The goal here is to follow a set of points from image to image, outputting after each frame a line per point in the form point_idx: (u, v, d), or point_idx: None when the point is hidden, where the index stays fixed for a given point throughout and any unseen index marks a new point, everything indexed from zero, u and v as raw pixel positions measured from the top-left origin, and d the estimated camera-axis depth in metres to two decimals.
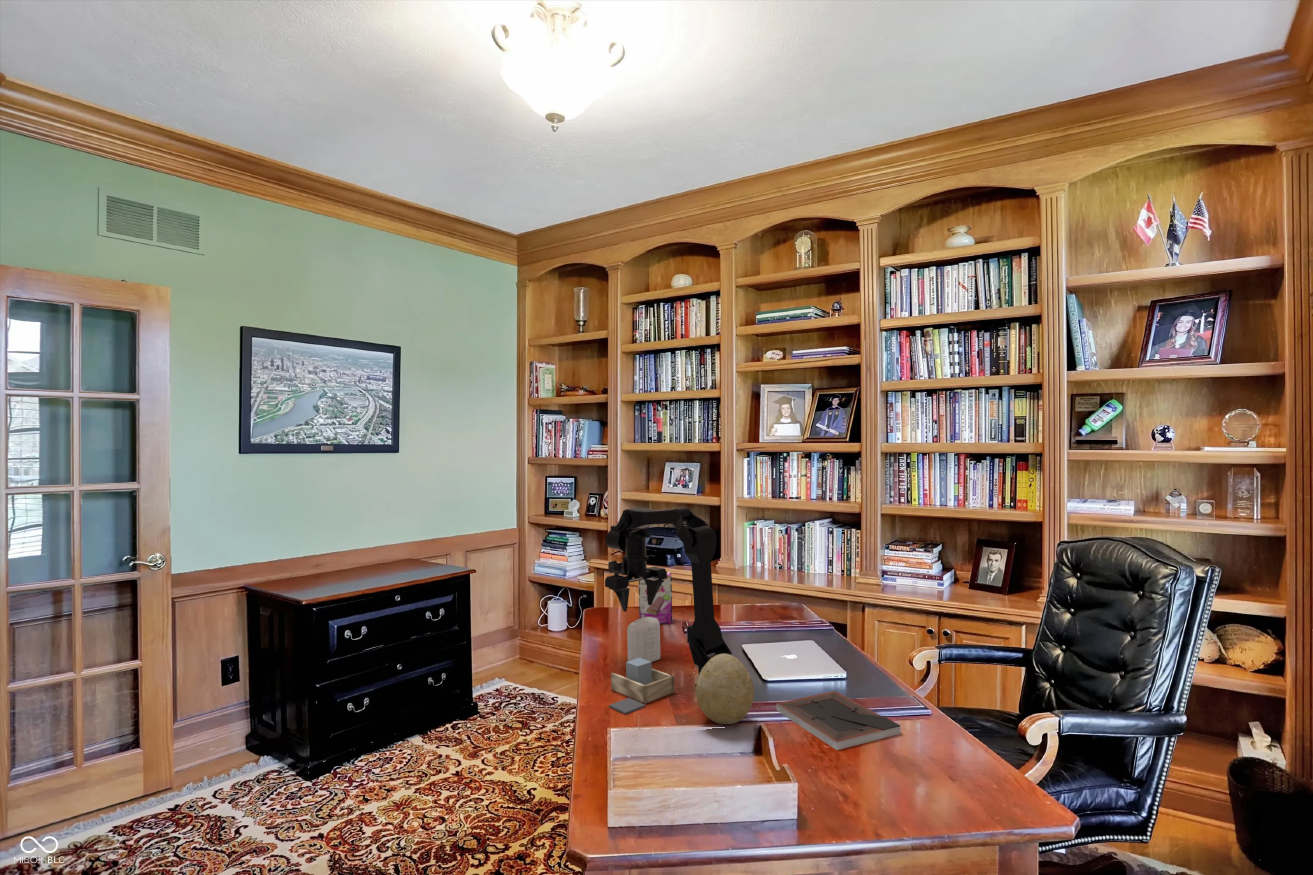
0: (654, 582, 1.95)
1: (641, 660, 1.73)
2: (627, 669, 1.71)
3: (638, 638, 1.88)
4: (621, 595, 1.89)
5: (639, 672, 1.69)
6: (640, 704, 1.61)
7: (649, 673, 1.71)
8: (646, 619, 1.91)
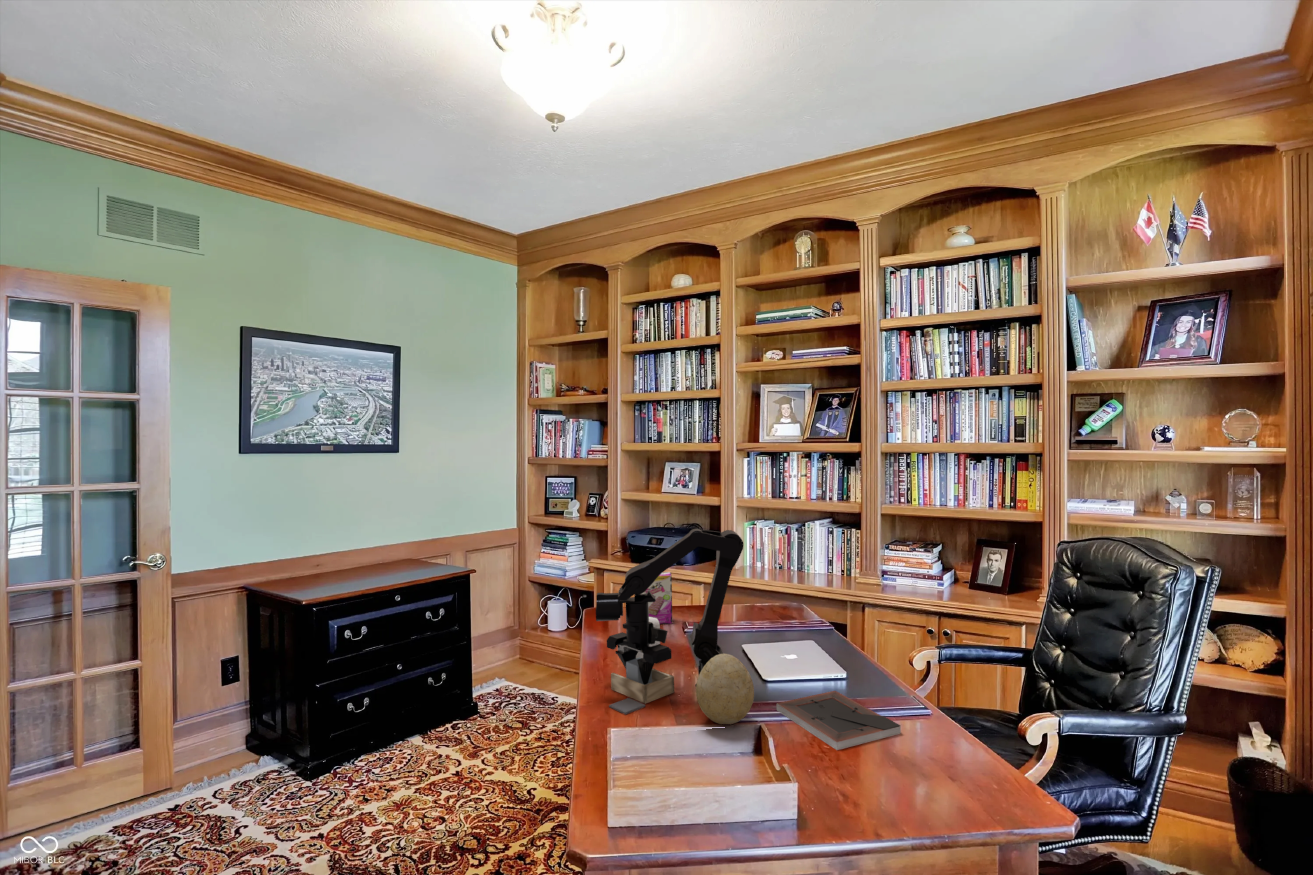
0: None
1: None
2: (627, 668, 1.71)
3: None
4: None
5: (639, 672, 1.69)
6: (640, 704, 1.61)
7: None
8: None
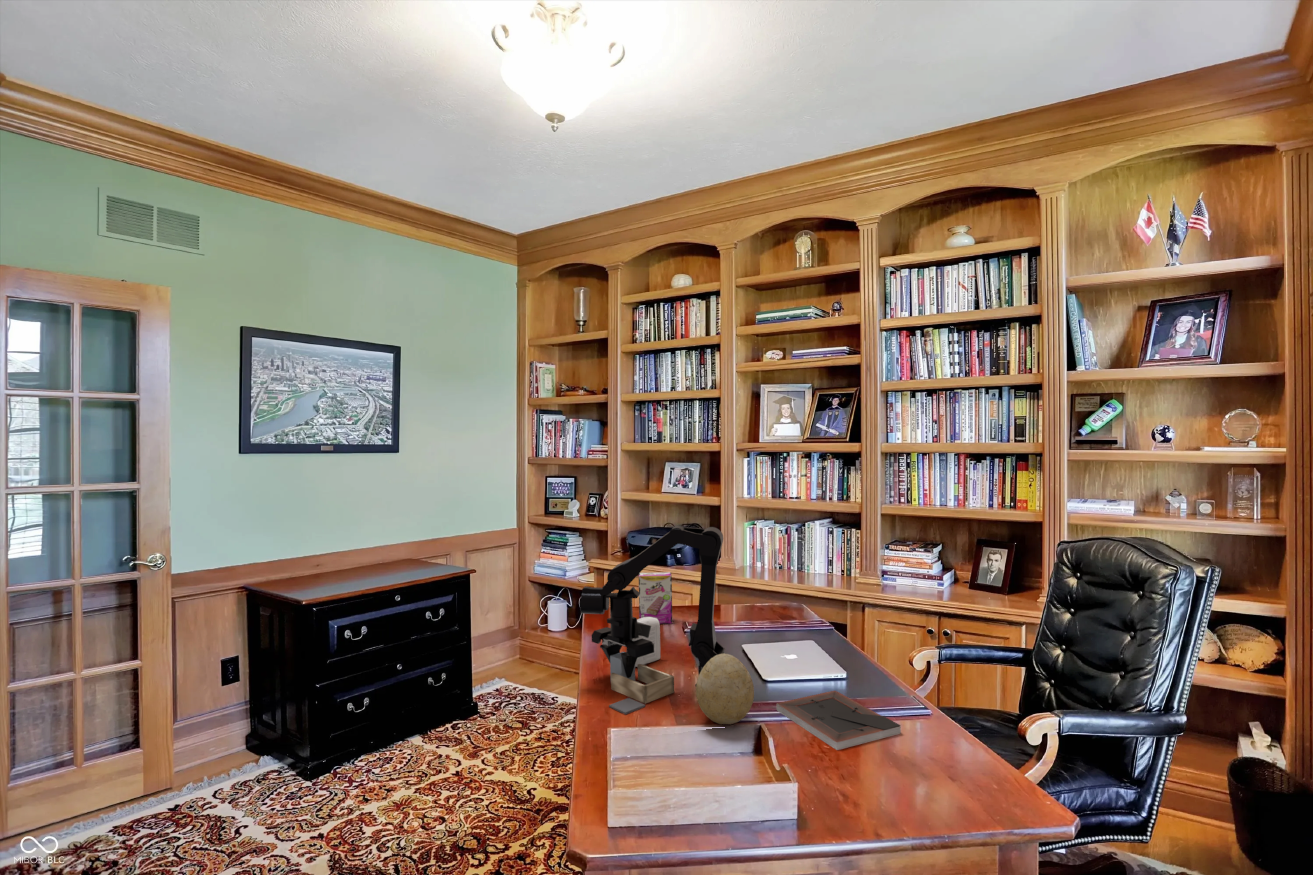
0: None
1: None
2: (611, 662, 1.76)
3: (638, 638, 1.88)
4: None
5: (623, 665, 1.74)
6: (640, 704, 1.61)
7: None
8: (646, 619, 1.91)
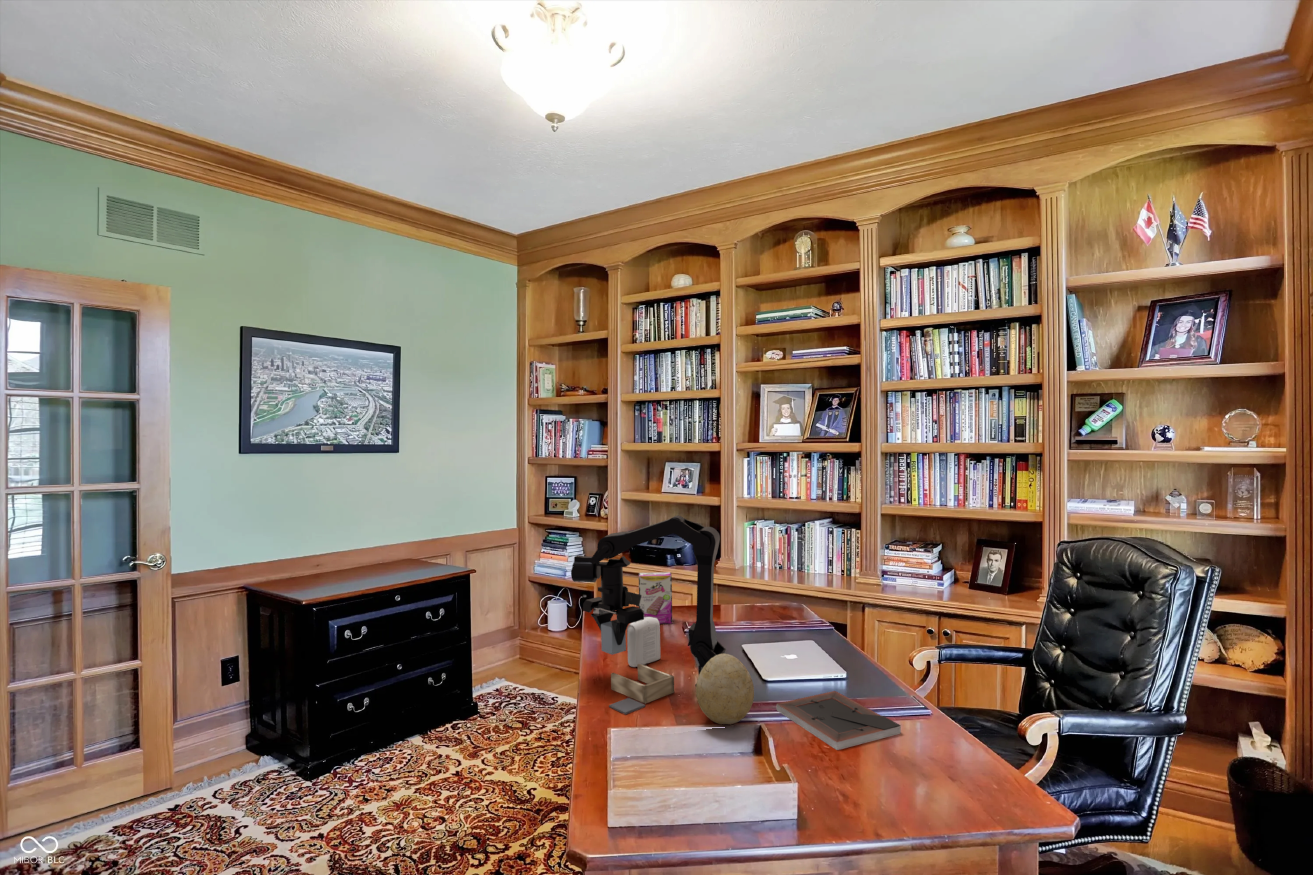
0: None
1: None
2: (602, 630, 1.78)
3: (638, 638, 1.88)
4: None
5: (613, 633, 1.76)
6: (640, 704, 1.61)
7: None
8: (646, 619, 1.91)
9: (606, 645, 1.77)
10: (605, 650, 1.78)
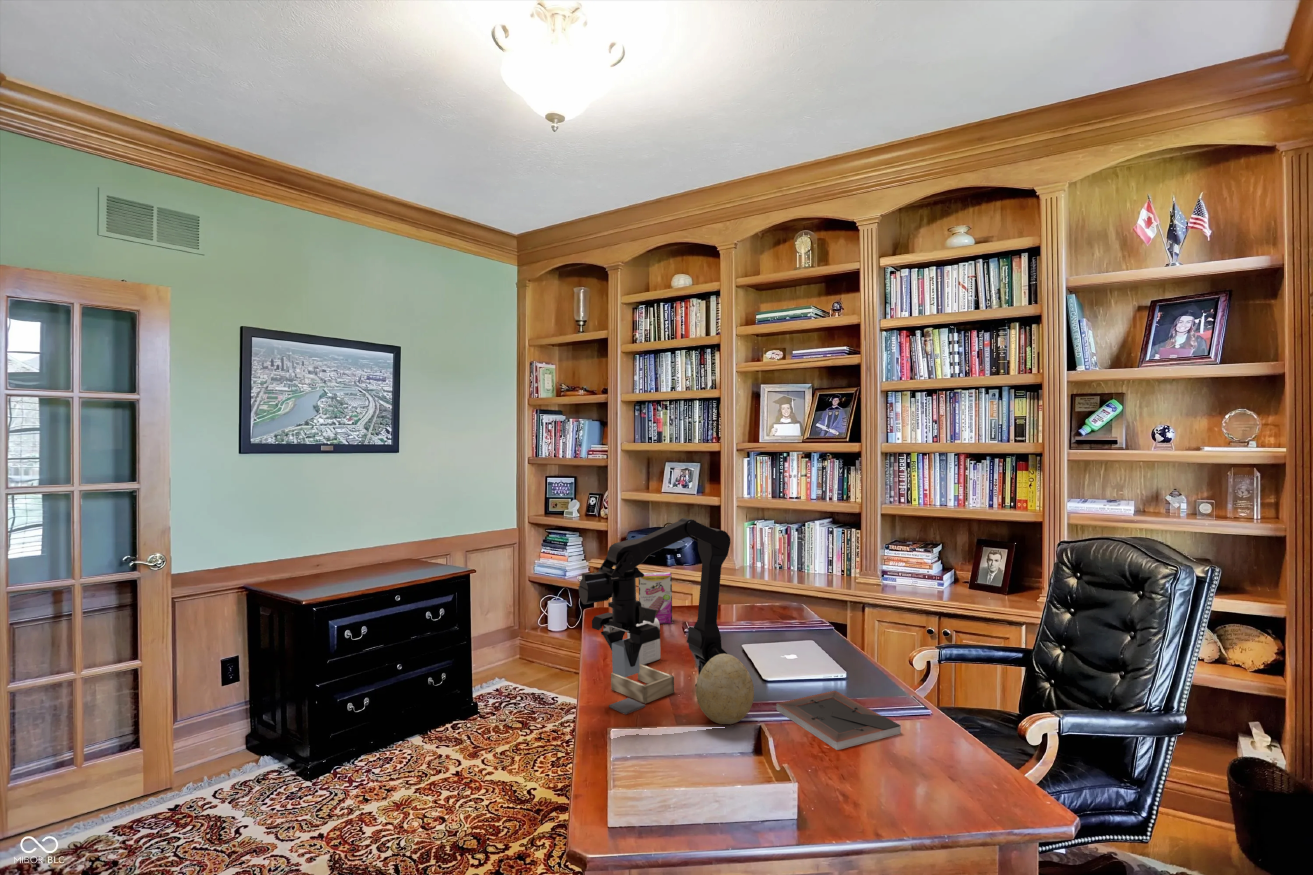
0: None
1: None
2: (613, 650, 1.61)
3: None
4: None
5: (626, 653, 1.58)
6: (640, 704, 1.61)
7: None
8: None
9: (618, 667, 1.60)
10: (617, 672, 1.60)
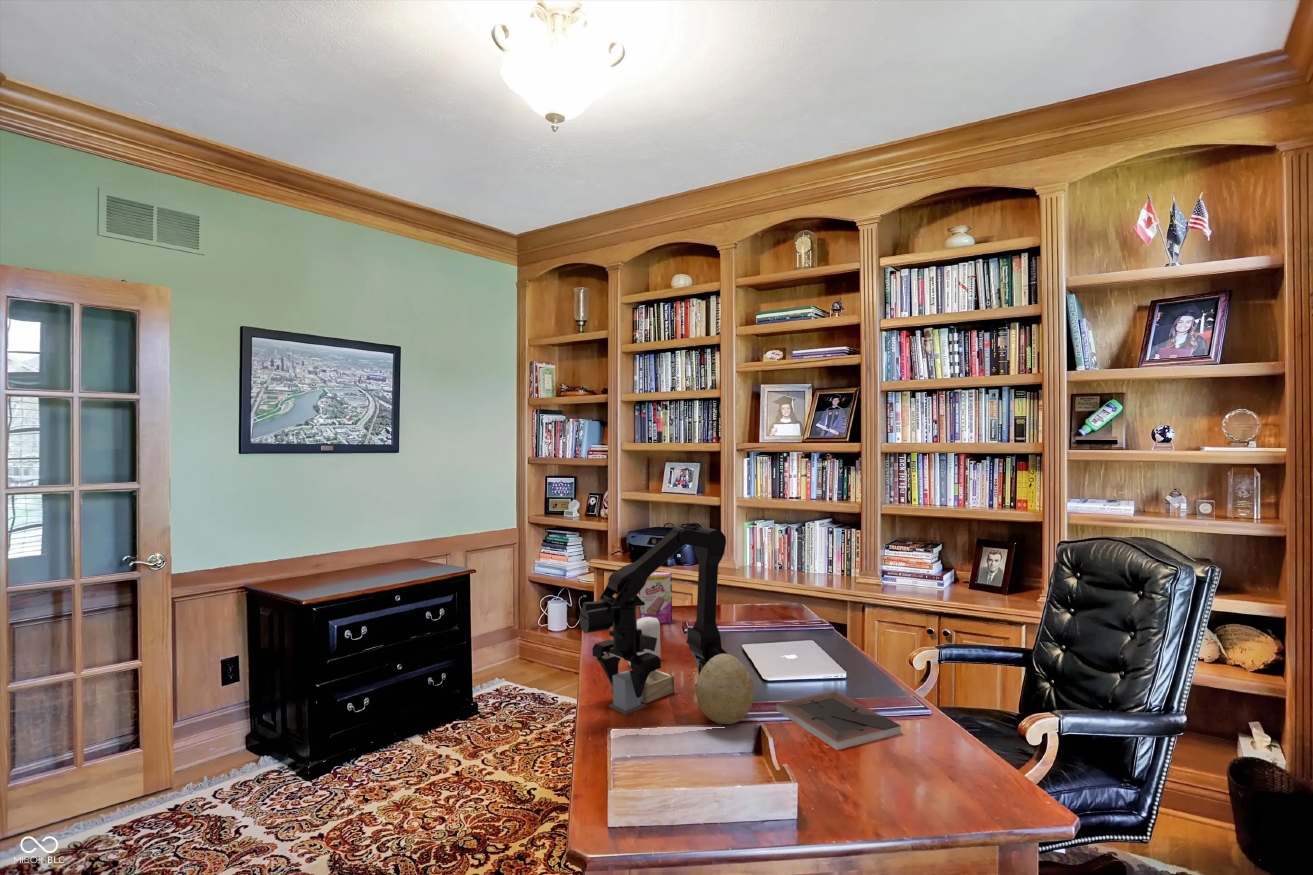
0: None
1: (629, 673, 1.62)
2: (614, 682, 1.61)
3: None
4: None
5: (627, 686, 1.59)
6: (640, 704, 1.61)
7: None
8: (646, 619, 1.91)
9: (619, 700, 1.60)
10: (617, 705, 1.60)
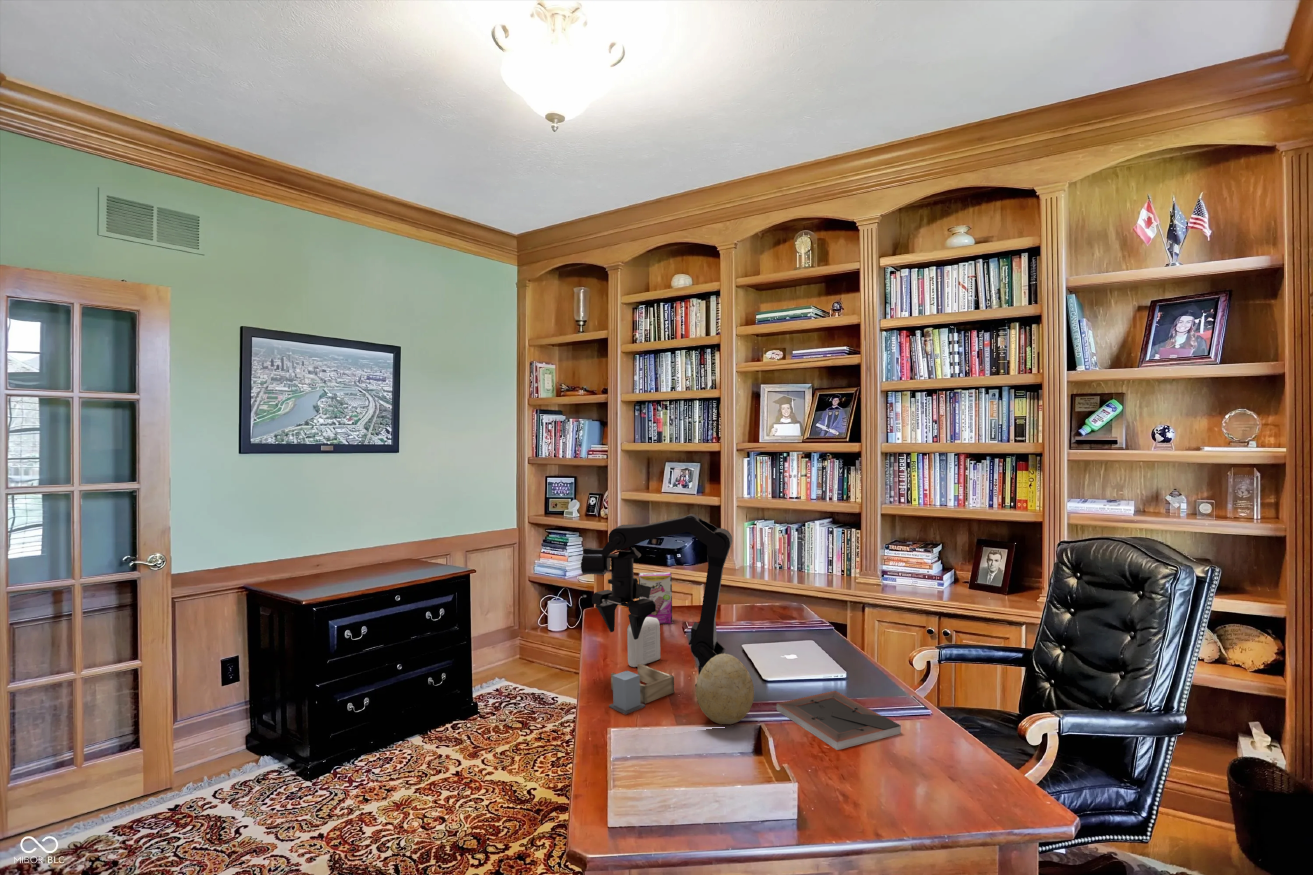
0: None
1: (629, 673, 1.62)
2: (614, 682, 1.61)
3: (638, 638, 1.88)
4: None
5: (627, 686, 1.59)
6: (640, 704, 1.61)
7: (637, 687, 1.61)
8: (646, 619, 1.91)
9: (619, 700, 1.60)
10: (617, 705, 1.60)
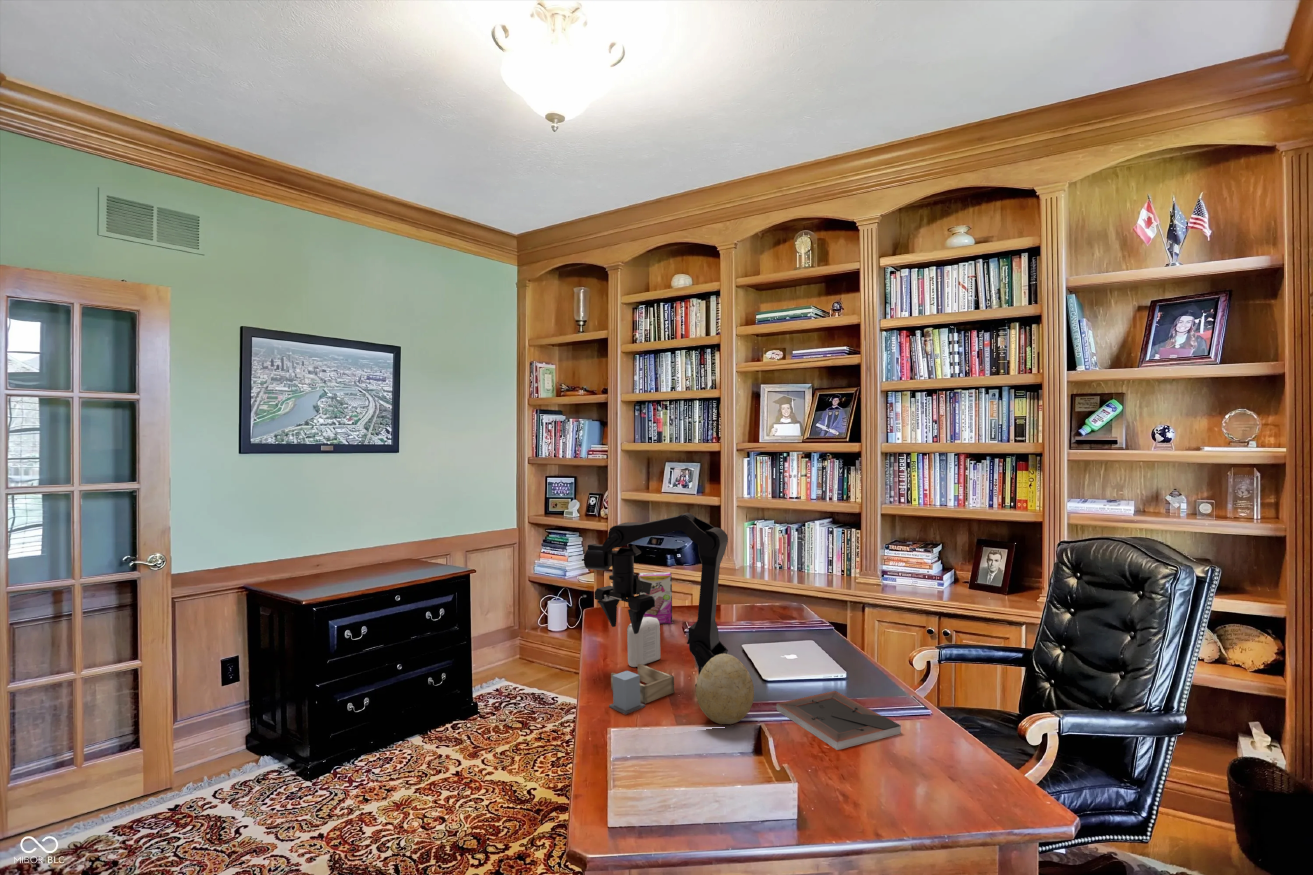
0: None
1: (629, 673, 1.62)
2: (614, 682, 1.61)
3: (638, 638, 1.88)
4: None
5: (627, 686, 1.59)
6: (640, 704, 1.61)
7: (637, 687, 1.61)
8: (646, 619, 1.91)
9: (619, 700, 1.60)
10: (617, 705, 1.60)
